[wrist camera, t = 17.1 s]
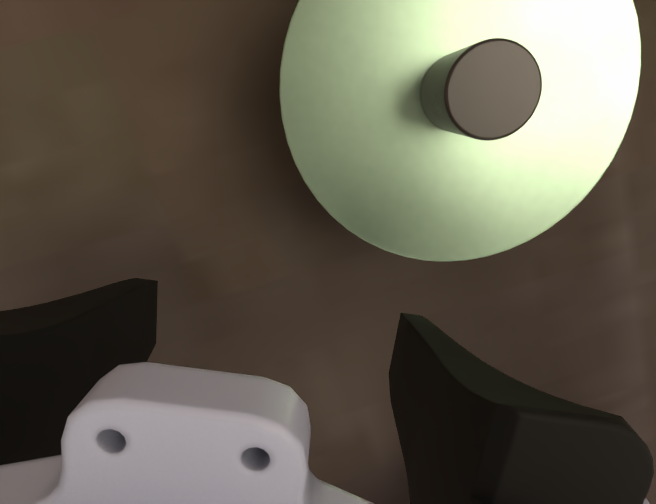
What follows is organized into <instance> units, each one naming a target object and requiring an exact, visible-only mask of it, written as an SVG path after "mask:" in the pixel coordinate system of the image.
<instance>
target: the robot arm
mask: <svg viewBox="0 0 656 504" xmlns="http://www.w3.org/2000/svg"><path fill="white" fill-rule="evenodd" d="M157 284H158V281H155V280H147V279H139V278H134V279H128V280H124V281H120V282H117V283H113V284H110V285H107V286H103V287H100V288H97V289H94V290H90V291H87V292H84V293H81V294H77V295H73V296H70V297H66V298H62V299H59V300H55V301H51V302H48V303H43V304H39V305H34V306H29V307H24V308H19V309H13V310H7V311H0V504H374V503H372V502H370V501H368V500H365V499H363V498H361V497H358V496H356V495H354V494H351V493H349V492H347V491H345V490H342V489H340V488H338V487H335V486H333V485H331V484H329V483H326V482H324V481H322V480H319V479H317V478H316V477H315V476H314V475H313V474H312V472H311V471H310V470H309V466H308V458H309V445H310V433H311V426H310V420H309V414H308V408H307V405H306V404H305V403H304V401H303V400H302V399H301V398H300V397H299V396H298V395H297V394H296V393H295V391H294V390H293V389H292V388H291V387H290V386H287V385H285V384H282V383H279V382H276V381H274V380H271V379H268V378H266V377H261V376H253V375H245V374H237V373H229V372H222V371H214V370H206V369H198V368H190V367H182V366H175V365H167V364H159V363H151V362H147V360H148V358H149V356H150V354H151V352H152V350H153V348H154V346H155V344H156V325H157ZM389 384H390V397H391V404H392V409H393V413H394V418H395V422H396V427H397V431H398V435H399V440H400V444H401V448H402V453H403V457H404V461H405V466H406V472H407V477H408V486H409V495H410V504H650V503H649V502H648V501H647V499H646V498H645V497H646V495H647V493H648V490H649V488H650V485H651V481H652V478H653V474H654V469H653V458H652V456H651V453H650V451H649V449H648V447H647V445H646V444H645V443H644V441H643V440H642V439H641V438H640V437H639V436H638V435H637V433H636V432H635V431H634V430H633V429H632V428H631V427H630V425H629V424H628V423H627V422H626V421H625V420H624V419H623V418H622V417H621V416H618V415H614V414H610V413H607V412H603V411H600V410H596V409H592V408H589V407H585V406H581V405H578V404H575V403H572V402H569V401H566V400H563V399H561V398H558V397H555V396H552V395H550V394H547V393H545V392H542V391H540V390H537V389H535V388H533V387H531V386H528V385H526V384H524V383H522V382H520V381H517V380H515V379H513V378H511V377H509V376H508V375H506V374H504V373H502V372H500V371H499V370H497V369H495V368H493V367H492V366H490V365H488V364H487V363H485V362H483V361H482V360H480V359H479V358H477V357H476V356H475V355H473V354H472V353H470V352H469V351H467V350H466V349H465V348H463V347H462V346H461V345H459V344H458V343H457V342H455V341H454V340H453V339H451V338H450V337H449V336H448V335H446V334H445V333H444V332H443V331H442V330H440V329H439V328H438V327H437V326H435V325H434V324H433V323H432V322H430V321H429V320H428V319H426V318H425V317H423V316H420V315H413V314H405V313H401V315H400V320H399V325H398V330H397V335H396V340H395V345H394V350H393V355H392V360H391V365H390V370H389Z"/></svg>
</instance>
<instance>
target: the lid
mask: <svg viewBox="0 0 656 504" xmlns="http://www.w3.org/2000/svg"><path fill="white" fill-rule="evenodd" d="M640 74H641V35H640V27H639V20H638V14H637V10H636V7H635V3H634V0H299V1H298V3H297V5H296V8H295V10H294V13H293V15H292V17H291V20H290V24H289V27H288V31H287V34H286V38H285V42H284V46H283V52H282V59H281V66H280V87H279V96H280V106H281V117H282V122H283V126H284V131H285V135H286V140H287V143H288V146H289V148H290V151H291V154H292V157H293V159H294V162H295V164H296V166H297V168H298V170H299V172H300V174H301V176H302V178H303V180H304V182H305V183H306V185H307V186H308V188H309V189H310V191H311V192H312V193H313V195H314V196H315V198H316V199H317V201H318V202H319V203H320V204H321V205H322V206H323V207H324V208H325V209H326V211H327V212H328V213H329V214H330V215H331V216H332V217H333V218H334V219H335V220H337V221H338V222H339V223H340V224H341V225H342V226H344V227H345V228H346V229H347V230H349V231H350V232H352V233H353V234H355V235H356V236H358V237H359V238H361V239H363V240H364V241H366V242H368V243H370V244H372V245H374V246H376V247H378V248H380V249H383V250H385V251H388V252H391V253H394V254H397V255H400V256H403V257H409V258H414V259H419V260H425V261H441V262H449V261H465V260H471V259H476V258H482V257H487V256H490V255H494V254H497V253H500V252H503V251H507V250H509V249H512V248H514V247H516V246H518V245H521V244H523V243H525V242H527V241H529V240H531V239H533V238H534V237H536V236H538V235H540V234H541V233H543V232H545V231H546V230H548V229H549V228H551V227H552V226H553V225H555V224H556V223H557V222H559V221H560V220H561V219H563V218H564V217H565V216H567V215H568V214H569V213H570V212H571V211H572V210H573V209H574V208H575V207H576V206H577V205H578V204H579V203H580V202H581V201H582V200H583V199H584V198H585V197H586V196H587V195H588V194H589V192H590V191H591V190H592V189H593V188H594V186H595V185H596V184H597V183H598V182H599V180H600V179H601V177H602V176H603V174H604V173H605V171H606V170H607V168H608V167H609V165H610V164H611V162H612V161H613V159H614V157H615V155H616V153H617V151H618V149H619V147H620V145H621V143H622V141H623V139H624V137H625V134H626V131H627V129H628V126H629V124H630V121H631V118H632V115H633V111H634V107H635V103H636V99H637V95H638V91H639V82H640Z"/></svg>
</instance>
